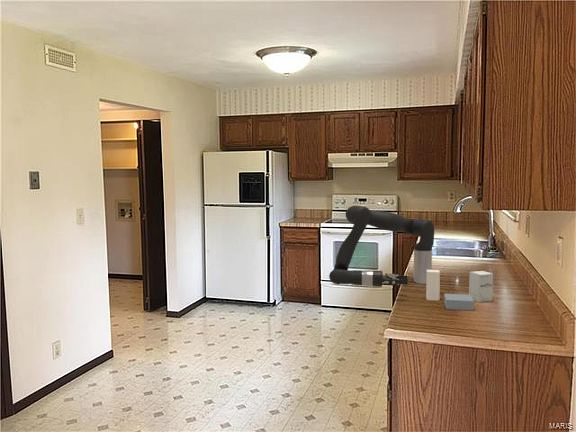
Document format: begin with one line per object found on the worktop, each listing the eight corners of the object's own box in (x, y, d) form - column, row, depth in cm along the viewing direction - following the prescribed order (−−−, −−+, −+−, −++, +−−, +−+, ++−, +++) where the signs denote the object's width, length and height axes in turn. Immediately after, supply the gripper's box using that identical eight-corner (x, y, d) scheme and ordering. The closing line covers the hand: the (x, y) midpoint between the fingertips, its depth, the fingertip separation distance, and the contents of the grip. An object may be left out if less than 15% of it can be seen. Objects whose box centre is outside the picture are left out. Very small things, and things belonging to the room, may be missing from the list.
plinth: (444, 302, 216) (444, 293, 216) (470, 303, 214) (470, 294, 214) (446, 309, 206) (446, 299, 205) (473, 310, 203) (473, 301, 203)
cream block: (426, 297, 226) (426, 269, 225) (438, 297, 225) (438, 269, 224) (426, 300, 221) (427, 271, 220) (439, 300, 219) (439, 272, 218)
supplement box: (478, 302, 215) (479, 274, 214) (468, 298, 223) (468, 271, 221) (492, 301, 217) (493, 273, 216) (482, 297, 225) (482, 270, 223)
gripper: (371, 273, 221) (408, 275, 217) (373, 267, 235) (407, 269, 231) (371, 289, 221) (407, 291, 218) (372, 283, 235) (407, 284, 232)
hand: (407, 280), depth 224 cm, fingers open, 8 cm apart
